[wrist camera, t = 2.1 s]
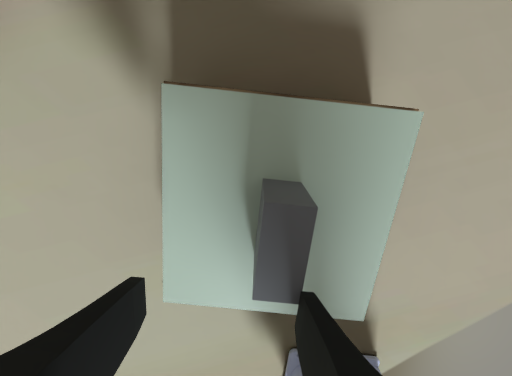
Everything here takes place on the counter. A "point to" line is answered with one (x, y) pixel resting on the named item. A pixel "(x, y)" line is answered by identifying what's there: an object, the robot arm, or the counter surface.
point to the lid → (278, 198)
